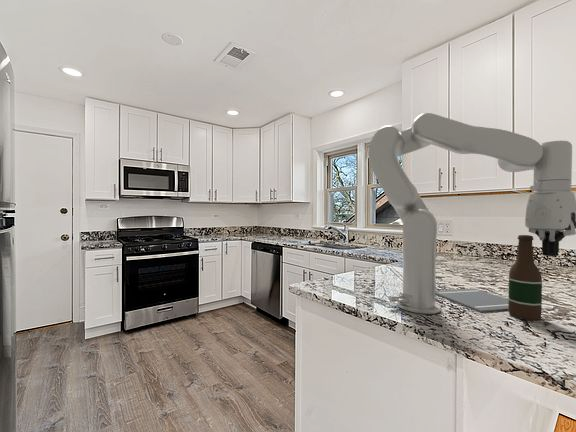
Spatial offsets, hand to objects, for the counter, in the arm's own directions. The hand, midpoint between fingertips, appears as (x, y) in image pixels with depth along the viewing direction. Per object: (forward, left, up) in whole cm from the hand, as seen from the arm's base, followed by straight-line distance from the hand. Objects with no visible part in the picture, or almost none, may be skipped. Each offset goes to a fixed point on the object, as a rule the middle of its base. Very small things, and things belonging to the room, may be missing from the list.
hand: (550, 255), depth 76 cm
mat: (0, +23, -19) cm, 30 cm away
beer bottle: (0, +7, -19) cm, 20 cm away
